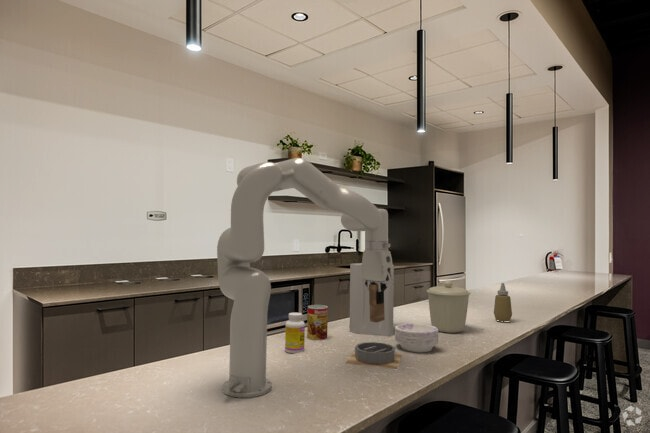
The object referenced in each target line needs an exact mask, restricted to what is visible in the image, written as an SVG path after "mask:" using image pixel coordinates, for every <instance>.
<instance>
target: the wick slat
mask: <svg viewBox="0 0 650 433" xmlns="http://www.w3.org/2000/svg"><path fill="white" fill-rule="evenodd" d="M381 286H382V284H381ZM376 292H378V288H377V283H374V284H369V306H370V322H375V323H376V322H380V321H383V320H385V315H384V303H382V304H377V303H376Z"/></svg>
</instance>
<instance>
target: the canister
mask: <svg viewBox="0 0 650 433" xmlns="http://www.w3.org/2000/svg"><path fill="white" fill-rule="evenodd" d="M425 292H426V293H427V296H428V297H427V298H428V306H429V307H428V308H429V317H430V323H431V326H434V327H436V328H438V331H439V332H441V333H447V334H453V333H454V334H456V333H461V332H462V331H464V329H465V327H466V321H467V313H468V308H469V306H468V305H469V297H470V295H471V292H470V291H468V290H467V289H465V288H462V287H459V286H453V281H451V280H445V281H444V282H443V285H441V286H440V285H439V286H437V285H436V286H432V287H430V288H428V289H426V291H425Z"/></svg>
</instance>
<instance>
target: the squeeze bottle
mask: <svg viewBox="0 0 650 433" xmlns="http://www.w3.org/2000/svg"><path fill="white" fill-rule="evenodd" d="M500 284H501V285H500V288H499V290H497V295H495V296H494V297H495V298H494V308H493V315H494V318H495V321H496V320H499V321H510V322H511V319H512V316H513V311H512V302H511V300H512V299H511V296H510V295H509V290H506V286H505V282H501V283H500Z"/></svg>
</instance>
